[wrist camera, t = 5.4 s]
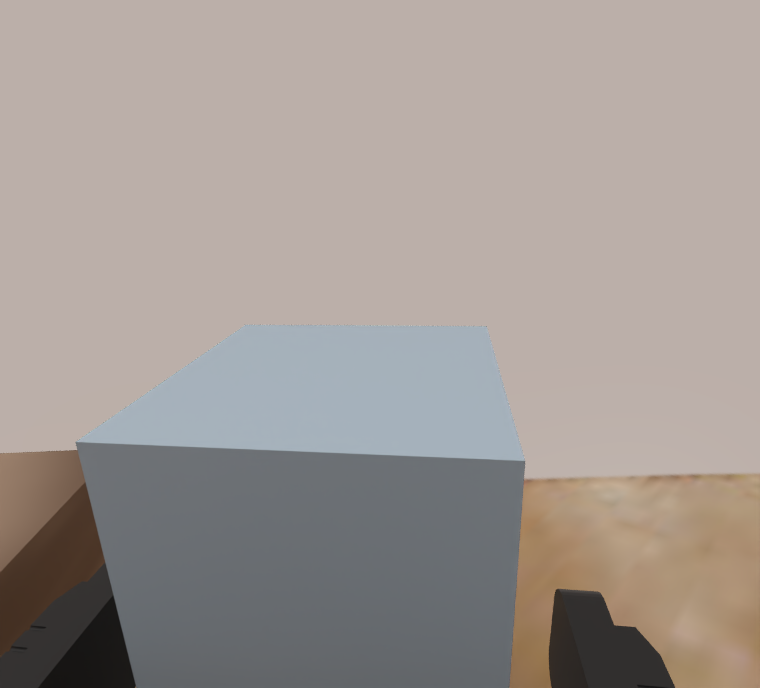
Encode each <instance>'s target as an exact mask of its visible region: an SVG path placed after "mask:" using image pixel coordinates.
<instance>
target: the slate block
mask: <svg viewBox="0 0 760 688" xmlns="http://www.w3.org/2000/svg"><path fill="white" fill-rule="evenodd" d="M76 446H77V450H78V454H79V458H80V462H81V466H82V470H83V474H84V478H85V482H86V486H87V490H88V494H89V498H90V502H91V506H92V510H93V514H94V518H95V522H96V526H97V530H98V535H99V539H100V543H101V547H102V551H103V555H104V559H105V563H106V567H107V571H108V575H109V579H110V583H111V587H112V591H113V595H114V599H115V603H116V607H117V611H118V615H119V619H120V623H121V627H122V631H123V635H124V639H125V643H126V648H127V652H128V656H129V660H130V664H131V668H132V672H133V676H134V680H135V684H136V688H509V684H510V670H511V656H512V641H513V627H514V613H515V599H516V584H517V570H518V556H519V541H520V527H521V513H522V498H523V484H524V469H525V459H524V455H523V452H522V448H521V445H520V441H519V438H518V435H517V431H516V427H515V424H514V420H513V417H512V413H511V410H510V406H509V403H508V400H507V396H506V392H505V389H504V385H503V382H502V379H501V375H500V371H499V368H498V365H497V361H496V357H495V354H494V350H493V347H492V343H491V340H490V336H489V333H488V330H487V326H354V325H352V326H351V325H344V326H343V325H340V326H339V325H245V326H243V327H242V328H240V329H239V330H238V331H236V332H235V333H233V334H232V335H230V336H229V337H227V338H226V339H224V340H223V341H222V342H220V343H219V344H217V345H216V346H214V347H213V348H212V349H210V350H208V351H207V352H206V353H204V354H203V355H201V356H200V357H198V358H197V359H195V360H194V361H192V362H191V363H190V364H188V365H187V366H185V367H184V368H182V369H181V370H179V371H178V372H176V373H175V374H174V375H172V376H171V377H169V378H168V379H166V380H165V381H163V382H162V383H161V384H159V385H158V386H156V387H155V388H153V389H152V390H150V391H149V392H147V393H146V394H145V395H143V396H142V397H140V398H139V399H137V400H136V401H134V402H133V403H131V404H130V405H129V406H127V407H126V408H124V409H123V410H121V411H120V412H118V413H117V414H116V415H114V416H113V417H111V418H110V419H108V420H107V421H105V422H104V423H103V424H101V425H100V426H98V427H97V428H95V429H94V430H92V431H91V432H89V433H88V434H86V435H85V436H84V437H82V438H81V439H79V440H78V441H76Z"/></svg>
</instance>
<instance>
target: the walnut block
mask: <svg viewBox="0 0 760 688" xmlns="http://www.w3.org/2000/svg"><path fill="white" fill-rule="evenodd" d="M104 563H105V559H104V555H103V551H102V547H101V543H100V539H99V535H98V530H97V526H96V522H95V518H94V514H93V510H92V506H91V502H90V498H89V494H88V490H87V486H86V482H85V478H84V474H83V470H82V466H81V462H80V458H79V454H78V450H71V451H47V452H23V453H1V454H0V657H1V656H2V655H3V654H4V653H5V652H6V651H7V652H9V651H10V649H11V645H12V644H13V643H14V642H15V641H16V640H17V639H18V638H19V637H20V636H21V635H22V634H23V633H24V632H25V631H26V630H29V629H30V625H31V624H32V623H33V622H34V621H35V620H36V619H37V618H38V617H39V616H40V615H41V614H42V613H43V611H44V610H45V609H46V608H47V607H48V606H49V605H50V604H51V603H52V602H53V601H54V600H56V599H57V598H58V597H60V596H61V595H63V594H64V593H66V592H67V591H69V590H70V589H72V588H73V587H74V586H76V585H77V584H79V583H80V582H82V581H85V582H88V581H89V579H90V578H91V577H92V576H93V575H94V574H95V573H96V572H97V571H98V570H99V568H100V567H101V566H102V565H103V564H104Z"/></svg>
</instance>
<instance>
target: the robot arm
mask: <svg viewBox="0 0 760 688" xmlns="http://www.w3.org/2000/svg"><path fill="white" fill-rule="evenodd" d="M549 670H550V679H551V686H552V688H675V686H674V684H673V682H672V680H671V677H670V675H669V673H668V671H667V669H666V667H665V664H664V662H663V660H662V658H661V656H660V654H659V653H658V652H657V651H656V650H655V649H654V648H653V647H652V645H651V644H650V643H649V642H648V641H647V640H646V639H645V638H644V636H643V635H642V634H641V633H640V632H639V631H638V630H637V629H636V628H635V627H626V626H614V624H613V621H612V619H611V616H610V613H609V611H608V608H607V606H606V603H605V601H604V598H603V596H602V595H601V593H599V592H594V591H580V590H566V589H557V590H556V592H555V596H554V606H553V616H552V626H551V635H550V645H549ZM135 686H136V684H135V680H134V676H133V672H132V668H131V664H130V660H129V656H128V652H127V648H126V643H125V639H124V635H123V631H122V627H121V623H120V619H119V615H118V611H117V607H116V603H115V599H114V595H113V591H112V587H111V583H110V579H109V575H108V571H107V567H106V563H104V564H103V565H102V566H101V567H100V568H99V570H98V571H97V572H96V573H95V574H94V575H93V576H92V577H91V578H90V579H89V581H88V582H85V581H82V582H80V583H79V584H77V585H76V586H74V587H73V588H72V589H70V590H69V591H67V592H66V593H64V594H63V595H61V596H60V597H58V598H57V599H56V600H54V601H53V602H52V603H51V604H50V605H49V606H48V607H47V608H46V609H45V610H44V611H43V613H42V614H41V615H40V616H39V617H38V618H37V619H36V620H35V621H34V622H33V623H32V624H31V625H30V629H29V630H26V631H25V632H24V633H23V634H22V635H21V636H20V637H19V638H18V639H17V640H16V641H15V642H14V643H13V644H12V645H11V649H10V651H9V652H7V651H6V652H5V653H4V654H3V655H2V656H1V657H0V688H135Z"/></svg>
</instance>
